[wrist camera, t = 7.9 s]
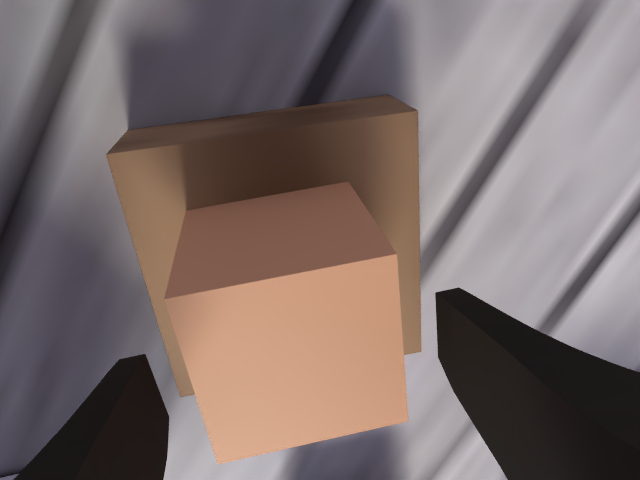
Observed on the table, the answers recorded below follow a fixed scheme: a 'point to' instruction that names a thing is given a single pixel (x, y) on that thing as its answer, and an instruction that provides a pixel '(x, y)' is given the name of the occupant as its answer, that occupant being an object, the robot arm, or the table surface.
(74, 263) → the table surface
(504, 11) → the table surface
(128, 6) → the table surface
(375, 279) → the terracotta block
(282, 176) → the tan square block
